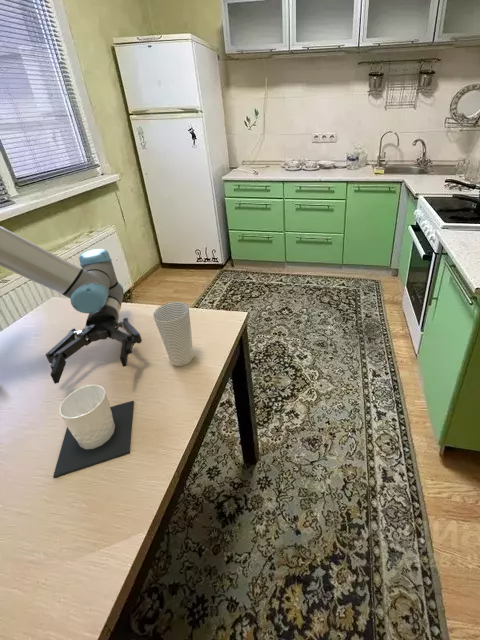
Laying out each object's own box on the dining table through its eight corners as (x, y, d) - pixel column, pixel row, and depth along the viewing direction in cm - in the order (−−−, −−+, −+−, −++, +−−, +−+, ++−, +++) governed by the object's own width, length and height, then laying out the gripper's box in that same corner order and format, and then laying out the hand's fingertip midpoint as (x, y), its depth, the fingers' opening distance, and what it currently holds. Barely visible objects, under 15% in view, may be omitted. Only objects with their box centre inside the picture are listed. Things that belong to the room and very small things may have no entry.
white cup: (106, 411, 72) (93, 378, 68) (125, 429, 68) (113, 395, 64) (68, 439, 66) (51, 405, 62) (87, 460, 62) (70, 425, 58)
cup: (175, 345, 92) (165, 300, 85) (203, 349, 90) (194, 302, 83) (159, 367, 84) (146, 319, 78) (189, 372, 83) (178, 323, 76)
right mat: (53, 478, 60) (52, 476, 60) (69, 420, 71) (69, 418, 71) (129, 453, 64) (129, 451, 64) (133, 401, 75) (133, 400, 75)
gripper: (154, 317, 95) (153, 367, 77) (56, 338, 88) (30, 398, 70) (148, 296, 92) (146, 342, 74) (47, 315, 85) (16, 373, 66)
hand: (89, 370), depth 72 cm, fingers open, 13 cm apart
